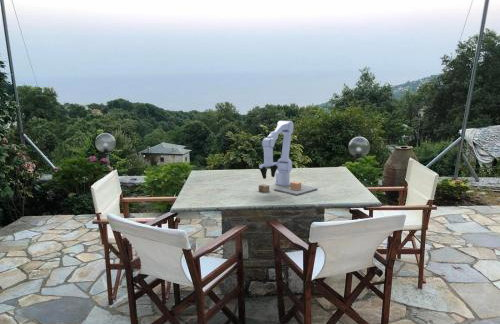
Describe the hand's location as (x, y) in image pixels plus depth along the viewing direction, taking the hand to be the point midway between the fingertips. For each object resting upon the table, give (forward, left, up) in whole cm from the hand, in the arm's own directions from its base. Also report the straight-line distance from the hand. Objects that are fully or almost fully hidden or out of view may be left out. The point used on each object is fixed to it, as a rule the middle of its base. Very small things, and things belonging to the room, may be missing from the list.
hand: (268, 177), depth 255 cm
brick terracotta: (+11, +14, -8) cm, 19 cm away
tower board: (+11, +14, -9) cm, 19 cm away
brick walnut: (-2, -2, -9) cm, 10 cm away
